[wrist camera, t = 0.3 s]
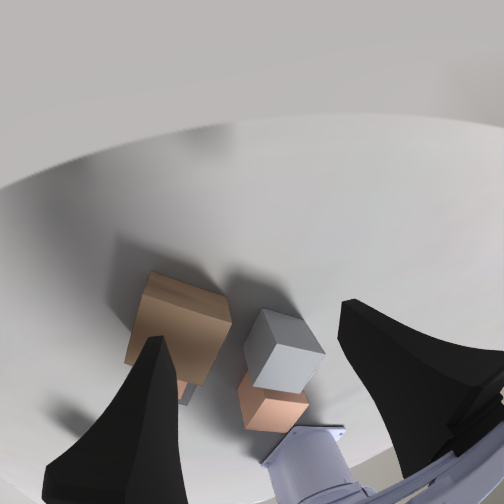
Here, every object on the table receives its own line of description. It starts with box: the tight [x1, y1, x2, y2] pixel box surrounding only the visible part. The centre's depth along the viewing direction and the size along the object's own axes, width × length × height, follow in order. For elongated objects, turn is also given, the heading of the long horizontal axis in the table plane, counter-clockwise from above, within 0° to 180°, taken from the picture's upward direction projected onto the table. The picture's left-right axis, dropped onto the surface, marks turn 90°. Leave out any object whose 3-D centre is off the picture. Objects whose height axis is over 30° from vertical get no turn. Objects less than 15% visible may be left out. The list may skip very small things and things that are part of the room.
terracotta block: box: [237, 370, 309, 433], centre depth 23 cm, size 4×4×5 cm
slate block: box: [243, 308, 326, 394], centre depth 22 cm, size 4×4×5 cm
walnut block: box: [124, 271, 232, 386], centre depth 20 cm, size 6×6×4 cm
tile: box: [177, 380, 196, 406], centre depth 23 cm, size 5×5×1 cm
